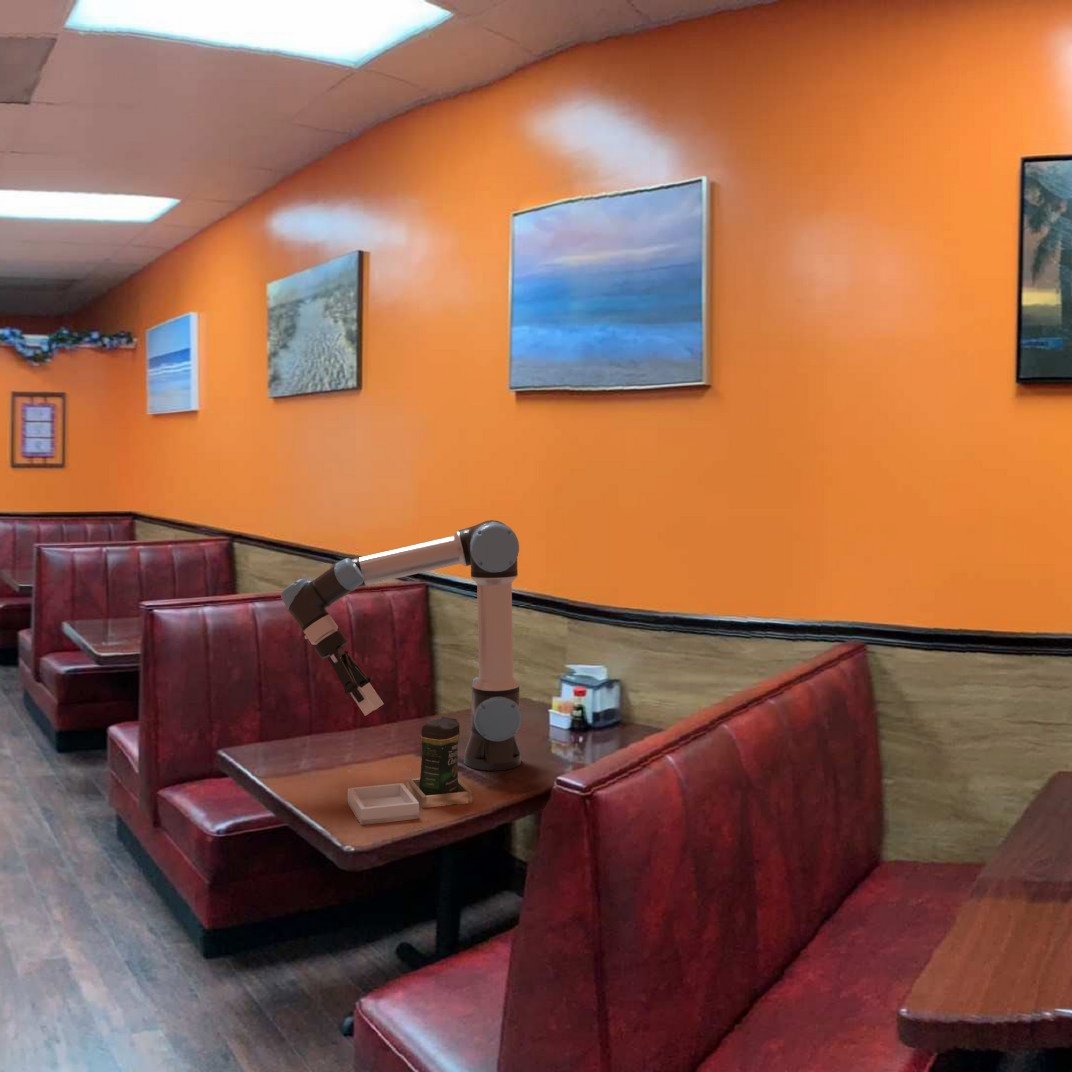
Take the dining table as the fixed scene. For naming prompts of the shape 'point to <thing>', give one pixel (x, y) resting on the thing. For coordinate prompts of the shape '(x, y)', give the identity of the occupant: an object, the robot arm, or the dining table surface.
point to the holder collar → (439, 795)
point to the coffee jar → (439, 756)
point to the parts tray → (383, 803)
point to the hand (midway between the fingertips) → (374, 709)
